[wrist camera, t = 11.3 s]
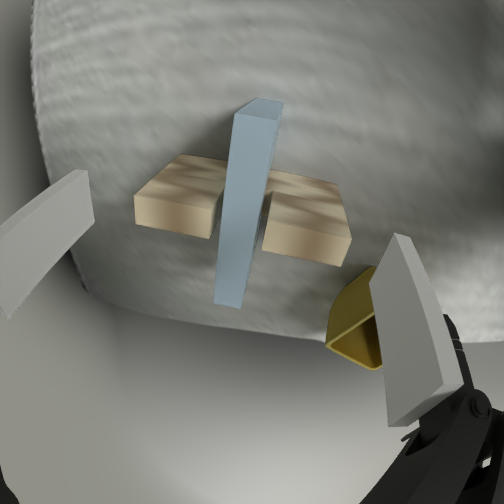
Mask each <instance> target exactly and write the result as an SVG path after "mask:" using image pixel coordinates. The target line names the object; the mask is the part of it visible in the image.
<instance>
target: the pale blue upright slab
mask: <svg viewBox="0 0 504 504" xmlns="http://www.w3.org/2000/svg"><path fill="white" fill-rule="evenodd" d="M282 108H283V103H282V102H277V101H271V100H266V99H260V98H256V99H254V100H253V101H251V102H250V103H248V104H247V105H246V106H244V107H243V108H241V109H240V110H239V111H237V112H236V113H235V114H234V121H233V129H232V136H231V143H230V151H229V159H228V167H227V175H226V183H225V191H224V200H223V208H222V217H221V227H220V236H219V246H218V256H217V266H216V277H215V288H214V300H213V303H215V304H220V305H224V306H229V307H233V308H238V309H241V307H242V303H243V298H244V294H245V290H246V286H247V281H248V277H249V273H250V268H251V264H252V260H253V255H254V251H255V247H256V242H257V237H258V232H259V227H260V222H261V216H262V215H261V211H262V205H263V200H264V195H265V190H266V185H267V180H268V176H269V172H270V168H271V164H272V160H273V155H274V150H275V145H276V139H277V134H278V129H279V124H280V119H281V114H282Z"/></svg>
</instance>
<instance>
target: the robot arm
mask: <svg viewBox="0 0 504 504" xmlns="http://www.w3.org/2000/svg"><path fill="white" fill-rule="evenodd" d="M94 223H95V221H94V215H93V208H92V201H91V194H90V186H89V177H88V170H80V169H75V170H73V171H72V172H70V173H69V174H67V175H66V176H64V177H63V178H62V179H60V180H59V181H57V182H56V183H54V184H53V185H51V186H50V187H49V188H47V189H46V190H45V191H43V192H42V193H41V194H39V195H38V196H36V197H35V198H34V199H33V200H31V201H30V202H29V203H27V204H26V205H25V206H24V207H22V208H21V209H20V210H18V211H17V212H16V213H15V214H14V215H12V216H11V217H10V218H9V219H8V220H6V221H5V222H4V223H3V224H2V225H1V226H0V315H2V316H3V317H5V318H6V319H8V320H10V318H11V317H12V316H13V314H14V313H15V312H16V310H17V309H18V308H19V306H20V305H21V304H22V303H23V301H24V300H25V299H26V298H27V296H28V295H29V294H30V293H31V291H32V290H33V289H34V288H35V286H36V285H37V284H38V283H39V282H40V281H41V279H42V278H43V277H44V276H45V275H46V273H47V272H48V271H49V270H50V269H51V267H53V266H54V264H55V263H56V262H57V261H58V260H59V259H60V258H61V257H62V256H63V254H64V253H65V252H66V251H67V250H68V249H69V248H70V247H71V246H72V245H73V244H74V243H75V242H76V241H77V240H78V239H79V238H80V237H81V236H82V235H83V234H84V233H85V232H86V231H87V230H88V229H89V228H90V227H91V226H92V225H93V224H94ZM369 287H370V292H371V297H372V302H373V307H374V313H375V319H376V324H377V330H378V337H379V343H380V350H381V358H382V365H383V374H384V383H385V393H386V403H387V417H388V427H398V426H399V427H401V426H409V425H410V424H412V423H413V422H415V421H416V420H418V419H419V424H420V427H419V428H417V429H416V430H414V431H412V432H411V433H409V434H407V435H406V436H405V437H403V438H402V439H401V441H402V442H403V441H405V440H407V439H409V438H410V439H409V440H408V442H407V443H406V445H405V446H404V448H403V449H402V451H401V452H400V453H399V455H398V456H397V458H396V459H395V460H394V462H393V463H392V464H391V466H390V467H389V468H388V470H387V471H386V472H385V474H384V475H383V476H382V477H381V479H380V480H379V481H378V482H377V484H376V485H375V486H374V487H373V489H372V490H371V491H370V492H369V493H368V494H367V496H366V497H365V498H364V499H363V500H362V501H361V502H360V503H359V504H504V411H503V412H502V411H499V410H496V409H494V408H492V407H491V403H490V401H489V399H488V397H487V396H486V395H485V394H484V393H483V392H482V391H480V390H477V389H474V386H473V382H472V378H471V374H470V371H469V367H468V364H467V361H466V357H465V354H464V352H463V351H462V350H463V348H462V344H461V341H459V339H460V338H459V336H458V333H457V330H456V327H455V325H454V324H453V322H452V321H451V319H450V318H449V317H448V315H446V314H442V311H441V308H440V305H439V303H438V300H437V298H436V295H435V293H434V290H433V288H432V285H431V283H430V280H429V278H428V276H427V273H426V271H425V269H424V266H423V264H422V262H421V260H420V257H419V255H418V253H417V251H416V249H415V247H414V245H413V243H412V241H411V238H410V237H408V236H404V235H401V234H397V233H394V234H393V236H392V238H391V240H390V242H389V245H388V247H387V249H386V251H385V253H384V255H383V257H382V259H381V261H380V263H379V265H378V267H377V269H376V271H375V273H374V275H373V277H372V278H371V280H370V282H369ZM490 457H491V461H490V465H489V466H486V467H484V468H483V467H482V464H483V461H484V460H486V459H488V458H490ZM0 504H19V501H18V499H17V498H16V497H15V495H14V493H12V491H11V490H10V489H9V488H8V487H7V485H6V484H5V481H4V478H3V475H2V471H1V467H0Z"/></svg>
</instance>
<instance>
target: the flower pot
mask: <svg viewBox="0 0 504 504" xmlns="http://www.w3.org/2000/svg"><path fill="white" fill-rule="evenodd" d="M376 269H377V268H376V267H373V266H371V267H369V268H367V269H366V270H365V271H364V272H363V273H362V274H360V275H359V276H358V277H357V278H356V279H354V280H353V281H352V282H351V283H349V284H348V285H347V286H346V287H345V288H344V289H343V290H342V291H341V292H340V294H339V295H338V296H337V298H336V299H335V301H334V303H333V305H332V308H331V311H330V315H329V320H328V327H327V334H326V342H325V346H326V347H327V348H328V349H330V350H332V351H333V352H335V353H337V354H339V355H341V356H343V357H345V358H346V359H348V360H350V361H352V362H354V363H356V364H358V365H360V366H362V367H364V368H366V369H368V370H371V371H374V370H376V369H378V368H380V367H382V366H383V365H382V358H381V350H380V343H379V337H378V330H377V324H376V319H375V313H374V307H373V302H372V297H371V292H370V287H369V282H370V280H371V278H372V277H373V275H374V273H375V271H376Z"/></svg>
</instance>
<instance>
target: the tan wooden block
mask: <svg viewBox="0 0 504 504" xmlns="http://www.w3.org/2000/svg"><path fill="white" fill-rule="evenodd" d="M227 167H228V161H223V160H217V159H211V158H205V157H198V156H191V155H184V154H180V155H179V156H178V157H177V158H175V159H174V160H173V161H172V162H171V163H169V164H168V165H167V166H166V167H165V168H164V169H163V170H161V171H160V172H159V173H158V174H157V175H156V176H155V177H154V178H152V179H151V180H150V181H149V182H148V183H147V184H146V185H145V186H144V187H143V188H141V189H140V190H139V191H138V192H137V193H136V194H135V195H134V206H135V220H136V224H138V225H143V226H148V227H153V228H158V229H163V230H168V231H172V232H177V233H182V234H187V235H192V236H196V237H201V238H206V239H209V238H210V236H211V234H212V232H213V230H214V228H215V226H216V224H217V221H218V219H219V217H220V215H221V213H222V208H223V200H224V191H225V183H226V175H227ZM261 215H262V216H267V217H268V219H267V224H266V229H265V234H264V239H263V244H262V249H261V250H264V251H268V252H273V253H278V254H283V255H287V256H292V257H297V258H301V259H306V260H311V261H316V262H320V263H325V264H330V265H334V266H339V267H341V265H342V263H343V260H344V258H345V255H346V253H347V251H348V248H349V246H350V243H351V241H352V238H351V234H350V230H349V226H348V222H347V219H346V215H345V212H344V208H343V204H342V201H341V198H340V194H339V191H338V187H337V184H333V183H329V182H325V181H321V180H317V179H312V178H308V177H304V176H299V175H295V174H290V173H286V172H281V171H276V170H272V169H270V172H269V176H268V180H267V185H266V190H265V195H264V200H263V205H262V211H261Z"/></svg>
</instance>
